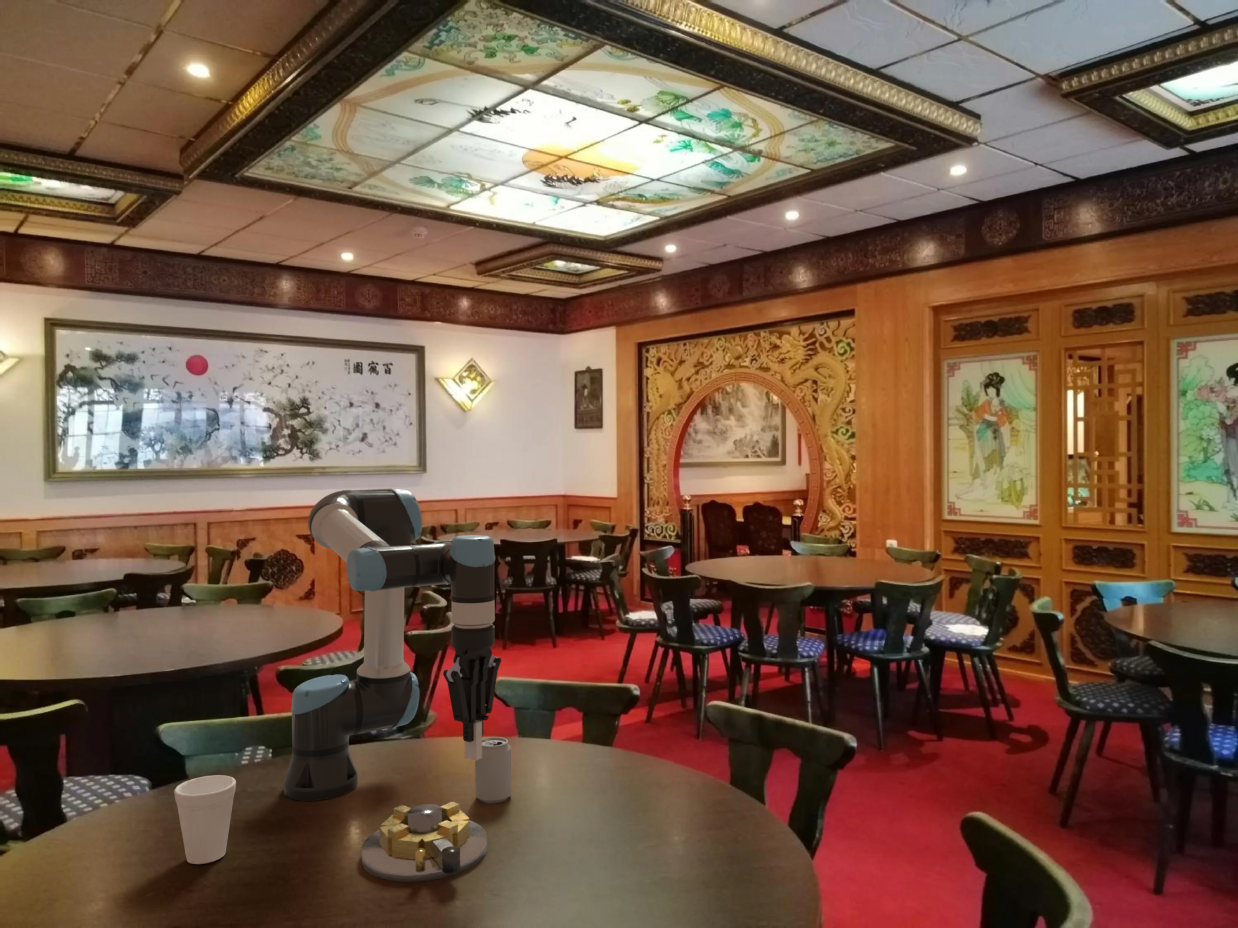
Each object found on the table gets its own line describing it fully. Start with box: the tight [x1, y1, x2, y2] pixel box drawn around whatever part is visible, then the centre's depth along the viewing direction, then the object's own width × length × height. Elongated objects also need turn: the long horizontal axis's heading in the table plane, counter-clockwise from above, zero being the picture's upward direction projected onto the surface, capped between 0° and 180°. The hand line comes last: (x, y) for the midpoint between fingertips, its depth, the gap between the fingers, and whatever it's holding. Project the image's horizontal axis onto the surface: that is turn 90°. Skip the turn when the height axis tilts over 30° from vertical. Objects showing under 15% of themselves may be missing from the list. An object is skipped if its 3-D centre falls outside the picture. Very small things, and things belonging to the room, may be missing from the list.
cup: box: [173, 774, 237, 865], centre depth 153 cm, size 10×10×13 cm
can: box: [474, 736, 513, 804], centre depth 180 cm, size 8×8×12 cm
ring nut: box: [379, 801, 470, 874], centre depth 152 cm, size 22×15×4 cm, turn 31°
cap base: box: [361, 803, 488, 883], centre depth 155 cm, size 22×22×8 cm
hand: (473, 757), depth 151 cm, fingers closed
